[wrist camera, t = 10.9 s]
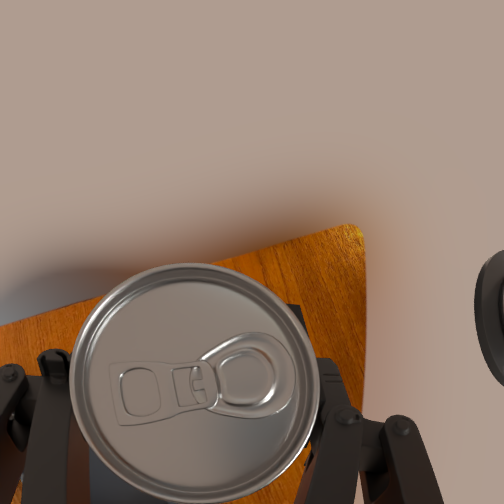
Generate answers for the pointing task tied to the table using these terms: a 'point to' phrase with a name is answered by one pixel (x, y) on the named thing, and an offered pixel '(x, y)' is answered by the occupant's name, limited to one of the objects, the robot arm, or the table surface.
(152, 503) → the tray
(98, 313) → the can
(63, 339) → the table surface
